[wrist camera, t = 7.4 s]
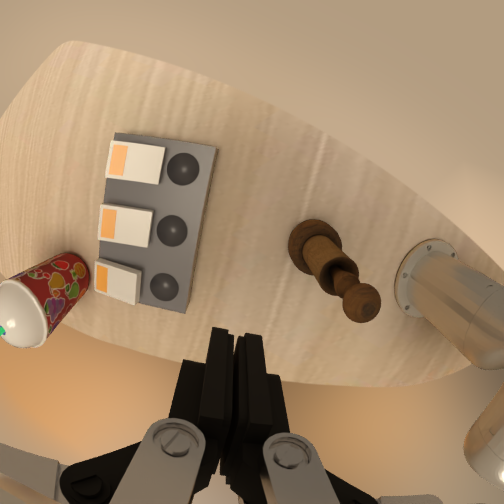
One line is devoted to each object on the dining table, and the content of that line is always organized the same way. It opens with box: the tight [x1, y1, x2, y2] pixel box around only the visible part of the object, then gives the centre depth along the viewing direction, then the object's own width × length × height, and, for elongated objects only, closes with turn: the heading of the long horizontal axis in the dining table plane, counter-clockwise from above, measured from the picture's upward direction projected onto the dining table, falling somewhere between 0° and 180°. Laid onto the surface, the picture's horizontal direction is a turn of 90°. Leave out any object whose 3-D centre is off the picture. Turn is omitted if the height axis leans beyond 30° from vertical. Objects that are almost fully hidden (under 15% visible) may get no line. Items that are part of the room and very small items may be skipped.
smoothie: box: [0, 253, 89, 348], centre depth 27 cm, size 8×8×20 cm
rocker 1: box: [105, 140, 166, 185], centre depth 28 cm, size 6×4×1 cm, turn 77°
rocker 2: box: [94, 258, 142, 305], centre depth 32 cm, size 6×4×1 cm, turn 78°
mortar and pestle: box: [288, 220, 381, 323], centre depth 28 cm, size 7×6×18 cm
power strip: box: [99, 133, 218, 314], centre depth 33 cm, size 12×20×4 cm, turn 167°
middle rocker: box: [97, 203, 154, 248], centre depth 30 cm, size 6×4×1 cm, turn 77°
